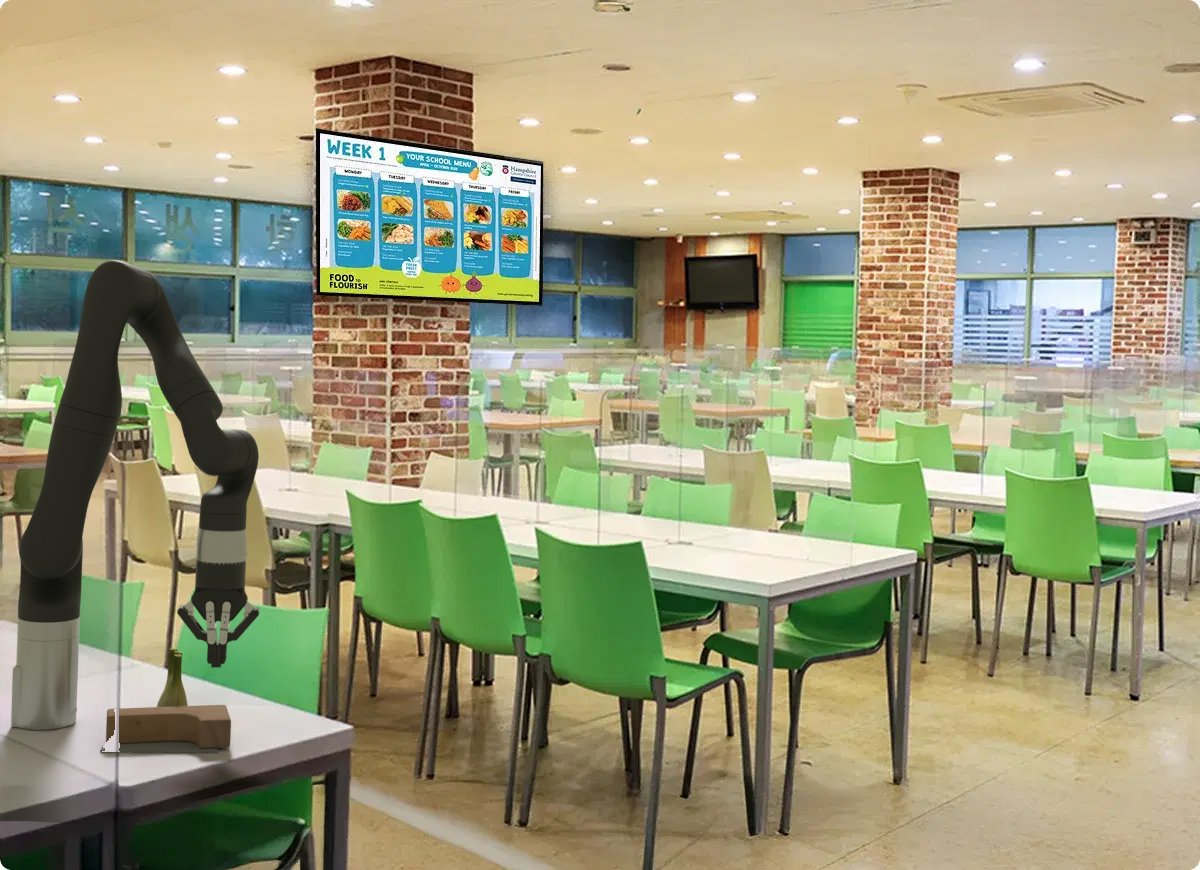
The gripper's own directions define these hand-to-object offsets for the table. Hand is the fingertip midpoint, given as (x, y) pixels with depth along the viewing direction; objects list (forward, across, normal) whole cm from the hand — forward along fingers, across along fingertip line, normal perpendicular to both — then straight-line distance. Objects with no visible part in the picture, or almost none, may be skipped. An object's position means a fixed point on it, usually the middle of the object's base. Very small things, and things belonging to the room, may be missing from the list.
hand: (216, 666), depth 211 cm
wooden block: (+9, +2, 0) cm, 10 cm away
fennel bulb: (+12, -8, +11) cm, 18 cm away
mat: (+12, -8, 0) cm, 14 cm away
